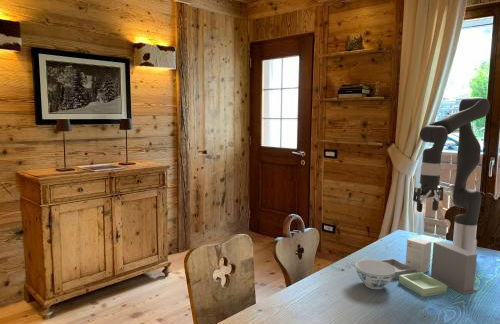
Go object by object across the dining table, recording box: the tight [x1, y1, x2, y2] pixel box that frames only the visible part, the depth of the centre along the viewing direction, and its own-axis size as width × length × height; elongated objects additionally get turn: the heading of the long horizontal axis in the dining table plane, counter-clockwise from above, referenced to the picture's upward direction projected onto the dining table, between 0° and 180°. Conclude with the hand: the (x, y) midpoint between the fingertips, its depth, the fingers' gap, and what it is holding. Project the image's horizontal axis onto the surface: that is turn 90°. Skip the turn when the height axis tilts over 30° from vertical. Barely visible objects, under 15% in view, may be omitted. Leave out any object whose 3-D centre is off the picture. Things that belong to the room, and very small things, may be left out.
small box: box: [405, 236, 433, 274], centre depth 168 cm, size 8×6×13 cm
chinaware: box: [355, 259, 396, 290], centre depth 151 cm, size 15×15×8 cm
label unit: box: [427, 240, 478, 295], centre depth 154 cm, size 7×17×15 cm, turn 20°
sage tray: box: [398, 272, 448, 298], centre depth 151 cm, size 11×13×3 cm
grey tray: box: [377, 257, 416, 280], centre depth 165 cm, size 11×13×3 cm
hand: (427, 211), depth 164 cm, fingers open, 8 cm apart
